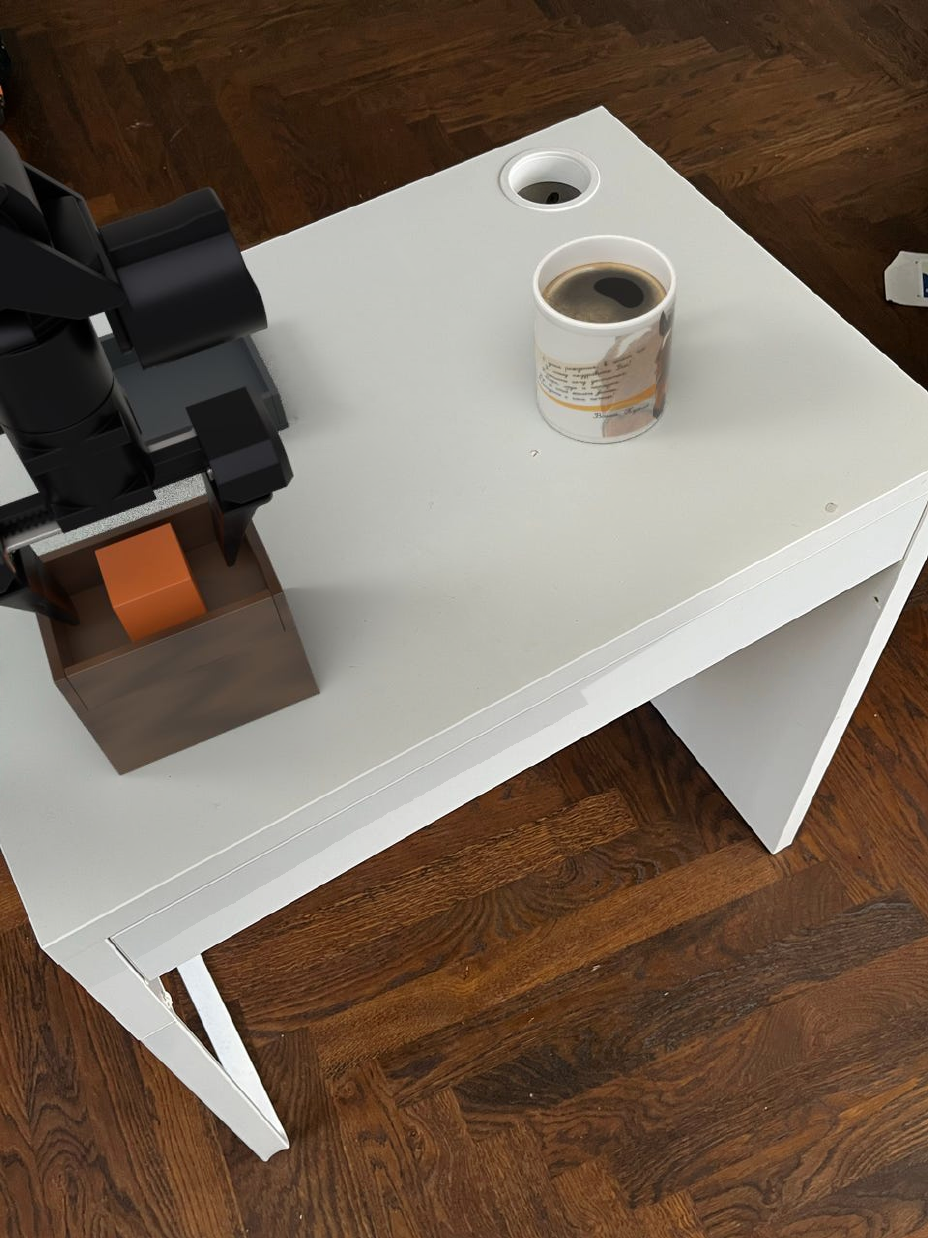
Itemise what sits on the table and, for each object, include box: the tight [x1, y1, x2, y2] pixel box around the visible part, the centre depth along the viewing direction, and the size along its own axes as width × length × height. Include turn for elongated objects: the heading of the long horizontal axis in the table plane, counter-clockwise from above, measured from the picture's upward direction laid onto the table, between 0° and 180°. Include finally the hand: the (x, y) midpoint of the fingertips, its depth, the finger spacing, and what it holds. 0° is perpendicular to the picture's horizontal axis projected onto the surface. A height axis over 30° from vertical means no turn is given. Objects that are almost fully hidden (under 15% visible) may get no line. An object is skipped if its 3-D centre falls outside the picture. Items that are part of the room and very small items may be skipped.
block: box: [95, 523, 208, 642], centre depth 67 cm, size 4×4×6 cm
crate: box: [34, 493, 320, 776], centre depth 71 cm, size 13×9×11 cm
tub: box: [98, 332, 290, 447], centre depth 89 cm, size 15×13×4 cm
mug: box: [531, 234, 678, 444], centre depth 83 cm, size 10×12×11 cm
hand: (153, 589), depth 66 cm, fingers open, 9 cm apart
